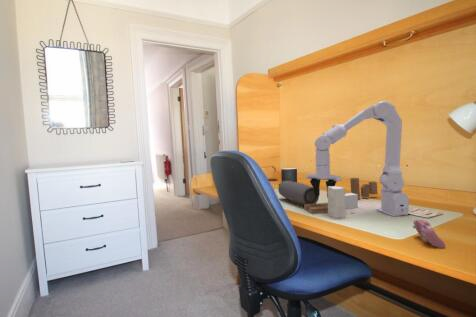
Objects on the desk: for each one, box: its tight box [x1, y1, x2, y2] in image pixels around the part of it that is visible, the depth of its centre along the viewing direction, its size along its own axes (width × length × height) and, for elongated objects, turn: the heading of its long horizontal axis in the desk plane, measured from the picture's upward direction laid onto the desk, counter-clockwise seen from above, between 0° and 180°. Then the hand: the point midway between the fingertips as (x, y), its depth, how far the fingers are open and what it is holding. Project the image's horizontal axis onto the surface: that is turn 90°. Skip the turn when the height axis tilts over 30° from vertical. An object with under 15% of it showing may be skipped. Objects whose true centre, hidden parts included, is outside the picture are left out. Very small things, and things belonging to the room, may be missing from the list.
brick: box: [345, 192, 359, 210], centre depth 117 cm, size 4×8×6 cm, turn 105°
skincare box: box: [327, 185, 346, 220], centre depth 104 cm, size 6×4×12 cm
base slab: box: [303, 202, 328, 215], centre depth 113 cm, size 8×14×2 cm, turn 99°
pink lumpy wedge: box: [412, 219, 446, 249], centre depth 76 cm, size 10×5×7 cm, turn 163°
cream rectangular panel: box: [345, 211, 356, 215], centre depth 108 cm, size 6×8×1 cm
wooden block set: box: [349, 177, 378, 200], centre depth 134 cm, size 18×9×10 cm, turn 84°
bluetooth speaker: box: [277, 180, 320, 206], centre depth 129 cm, size 23×9×10 cm, turn 20°
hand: (323, 196), depth 113 cm, fingers open, 5 cm apart
